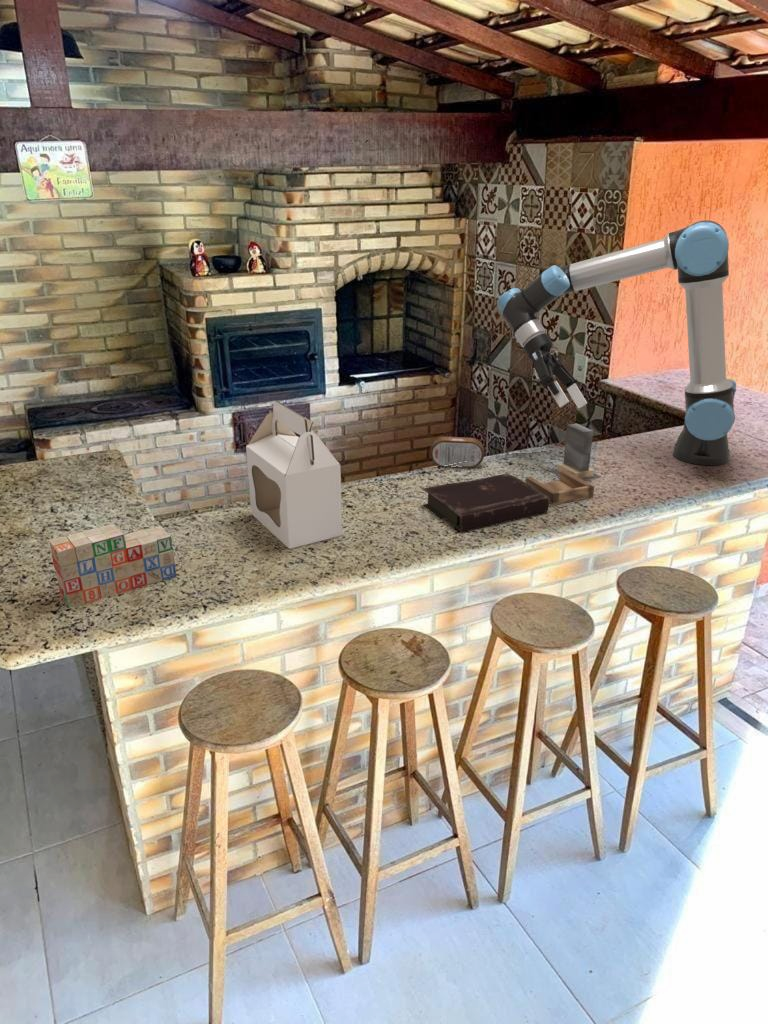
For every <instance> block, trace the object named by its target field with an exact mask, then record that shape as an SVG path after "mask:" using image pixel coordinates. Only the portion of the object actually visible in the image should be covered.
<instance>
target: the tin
mask: <svg viewBox="0 0 768 1024" xmlns="http://www.w3.org/2000/svg"><path fill="white" fill-rule="evenodd" d="M429 452H430V458H431V460H432V462H433V463H434V464H436V465H437V466H439V467H441V466H444V465H448V466H445V467H444V468H452V467H451V466H456V465H459V466H462V467H466V468H465V469H474V468H477V467H478V466H480V464H481V463H482V462H483V460H484V458H485V446H484V445H483V443H482V442H481V441H480V440H478V438H474V437H462V436H461V437H459V436H441V437H438V438H436V439H435V440H433V441H432V443H431V445H430V449H429ZM464 461H467V462H464ZM459 462H462V463H459ZM454 463H457V464H454ZM449 464H453V465H449ZM456 467H458V466H456Z"/></svg>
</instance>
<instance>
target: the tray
mask: <svg viewBox="0 0 768 1024" xmlns="http://www.w3.org/2000/svg"><path fill="white" fill-rule="evenodd" d="M558 477H559V479H558V480H555V481H548V482H541V481H539V480H538V479H536V478H535V477H533V476H528V477H527V476H526V477H525V483H527V484H528V485H530V486H531V487H533V488H534V489H536V490H538V491H539V492H541V493H543V494H545V495H546V496H548V497H549V505H551V506H554V505H555V506H556V505H562V504H566V503H570V502H571V503H572V502H575V501H582V500H586V499H590V498H594V492H595V486H594V485H593V484H591V483H589V482H587V481H586V480H585V481H583V480H582V479H580V478H578V477H576V476H574V475H572V474H570V473H569V472H567V471H560V476H558Z"/></svg>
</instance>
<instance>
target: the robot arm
mask: <svg viewBox="0 0 768 1024" xmlns="http://www.w3.org/2000/svg"><path fill="white" fill-rule="evenodd" d="M729 246H730V244H729V238H728V234H727V232H726V230H725V229H724V228H723V226H722V225H721V224H719V223H718V222H716V221H713V220H707V219H706V220H700V221H699V220H698V221H696V222H693V223H691V224H690V225H688V226H686V227H682V228H681V229H678V230H675V231H671V232H667V234H666V235H665V237H663V238H662V239H657V240H654V241H650V242H646V243H643V244H639V245H636V246H633V247H628V248H625V249H621V250H617V251H613V252H610V253H607V254H603V255H599V256H594V257H592V258H589V259H585V260H581V261H578V262H574V263H571V264H567V265H563V266H560V267H559V266H558V265H555V264H554V265H551V266H550V267H548V268H547V269H546V270H544V271H543V272H542V273H541V274H540V275H539V276H537V277H536V278H535V279H534V280H533V281H531V282H530V283H529V284H528V285H527V286H526V287H525V288H523V289H522V290H520V288H518V287H512V288H511V289H510V288H509V290H507V291H505V292H503V293H502V294H501V295H500V296H499V298H498V299H497V303H496V304H497V308H498V310H499V312H500V313H501V316H502V318H503V319H504V320H505V322H506V323H507V325H508V327H509V328H510V330H511V331H512V333H513V334H514V336H515V338H516V343H518V344H519V345H520V346H521V347H522V348H523V349H522V350H523V351H524V353H525V354H526V357H527V358H528V359H529V360H531V361H532V363H533V364H534V367H535V371H536V373H537V375H538V378H539V381H540V383H541V386H542V387H543V388H546V387H547V389H548V390H549V392H550V394H551V395H552V397H553V399H554V400H555V402H556V403H557V405H558V407H559V408H562V407H564V406H565V405H566V404H568V403H570V400H569V398H568V397H567V396H566V393H565V392H564V391H563V389H562V387H561V386H560V384H559V382H558V381H557V380H555V378H554V376H555V377H556V378H557V379H558V380H559V381H560V382H561V383H562V384H563V385H564V386H565V387H566V391H567V392H568V395H569V396H570V397H571V400H572V401H573V402H574V404H575V406H576V407H577V409H581V408H583V407H584V406H586V405H587V404H588V402H587V400H586V398H585V397H584V395H583V394H582V392H581V390H580V389H579V387H578V385H577V383H578V382H579V381H578V379H576V378H575V377H574V376H573V375H572V373H571V372H570V371H569V369H568V368H567V367H566V366H565V365H564V364H563V362H562V361H561V359H560V358H559V357H558V356H559V355H557V354H554V353H552V352H551V349H553V346H554V343H553V342H552V340H551V338H550V336H549V334H548V333H546V329H545V328H544V327H543V325H542V323H541V322H540V320H539V319H538V317H537V314H539V313H540V312H541V311H542V310H543V309H544V308H546V307H548V305H550V304H551V303H552V302H554V301H555V300H556V299H557V298H559V297H561V296H564V295H567V294H570V293H574V292H578V291H582V290H585V289H589V288H594V287H598V286H601V285H605V284H608V283H613V282H617V281H622V280H625V279H630V278H633V277H636V276H640V275H644V274H648V273H653V272H656V271H660V270H664V269H668V268H669V269H671V270H673V271H675V270H676V271H677V280H678V285H680V286H681V287H682V288H683V289H684V290H685V292H684V293H685V305H686V306H685V307H686V309H685V310H686V311H685V312H686V325H687V326H686V327H687V343H688V344H687V345H688V363H689V364H688V365H689V383H688V384H687V385H686V386H685V387H684V403H685V416H684V424H683V428H682V431H681V432H680V434H679V436H678V438H677V440H676V442H675V444H674V446H673V449H672V455H673V456H674V457H675V458H676V459H678V460H680V461H682V462H684V463H685V462H686V463H689V464H694V465H698V466H699V465H701V466H722V465H724V464H726V463H729V460H730V455H731V450H730V449H729V439H728V433H729V432H730V430H732V427H734V423H735V420H736V415H735V408H734V400H735V394H736V392H737V382H736V381H735V380H733V379H730V378H727V368H726V366H727V365H726V342H725V340H726V339H725V319H724V291H723V283H724V282H725V281H726V280H727V278H729V277H730V276H729V275H730V274H729V273H730V272H729V249H730V247H729Z"/></svg>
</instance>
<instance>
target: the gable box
mask: <svg viewBox="0 0 768 1024" xmlns="http://www.w3.org/2000/svg"><path fill="white" fill-rule="evenodd" d="M272 403H273V406H272V407H273V408H272V410H269V412H267V414H266V415H265V416H264V418H263V419H262V421H261V422H260V424H259V425H258V427H257V429H256V430H255V431H254V434H253V435H252V437H251V438H250V440H249V441H248V443H247V445H246V447H245V450H246V460H247V461H246V462H247V463H246V464H247V473H248V476H247V477H248V489H249V497H250V498H249V500H250V501H249V502H250V512H251V515H252V516H253V517H254V518H255V519H256V520H257V521H259V523H260V524H262V525H263V526H264V527H265V528H266V529H267V530H268V531H269V532H270V533H272V535H273V536H274V537H276V538H277V539H278V541H280V542H281V543H282V544H284V546H286V548H288V549H289V550H291V549H296V548H298V547H303V546H307V545H311V544H314V543H318V542H321V541H322V542H323V541H327V540H330V539H333V538H334V539H335V538H337V537H341V536H342V535H343V524H342V523H343V521H342V517H343V515H342V485H341V484H342V478H341V477H342V476H341V473H342V471H341V463H340V462H338V460H337V459H336V458H335V457H334V455H333V454H332V453H331V451H330V450H329V448H328V447H327V446H326V445H325V444H324V442H323V441H322V439H321V438H320V437H319V436H318V434H317V433H315V432H313V431H311V429H312V427H313V424H314V422H313V421H312V420H310V419H308V418H307V417H305V416H304V415H303V414H300V413H298V412H297V411H295V410H294V409H292V408H290V407H289V406H287V405H285V404H283V403H282V402H280V401H279V400H274V401H273V402H272ZM296 434H297V435H299V436H297V435H296ZM311 461H312V462H313V464H311Z"/></svg>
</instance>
